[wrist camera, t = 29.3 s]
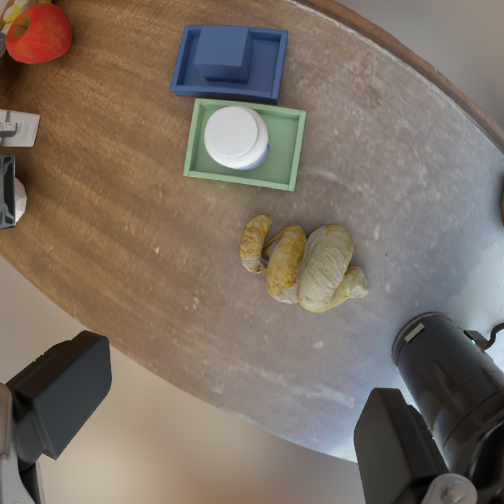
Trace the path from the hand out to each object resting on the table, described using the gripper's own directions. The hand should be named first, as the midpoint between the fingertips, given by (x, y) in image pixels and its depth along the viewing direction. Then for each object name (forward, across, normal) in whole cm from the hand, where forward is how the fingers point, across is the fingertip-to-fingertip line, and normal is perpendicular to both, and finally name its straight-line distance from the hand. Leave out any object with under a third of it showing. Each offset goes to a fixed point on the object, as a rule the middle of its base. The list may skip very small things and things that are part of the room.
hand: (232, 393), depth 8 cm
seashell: (+26, -4, +2) cm, 27 cm away
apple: (+26, +32, -23) cm, 47 cm away
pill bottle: (+26, +4, -9) cm, 28 cm away
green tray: (+26, +4, -10) cm, 28 cm away
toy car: (+26, +35, -2) cm, 44 cm away
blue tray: (+26, +7, -18) cm, 33 cm away
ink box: (+26, +38, -10) cm, 47 cm away
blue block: (+26, +7, -18) cm, 32 cm away
